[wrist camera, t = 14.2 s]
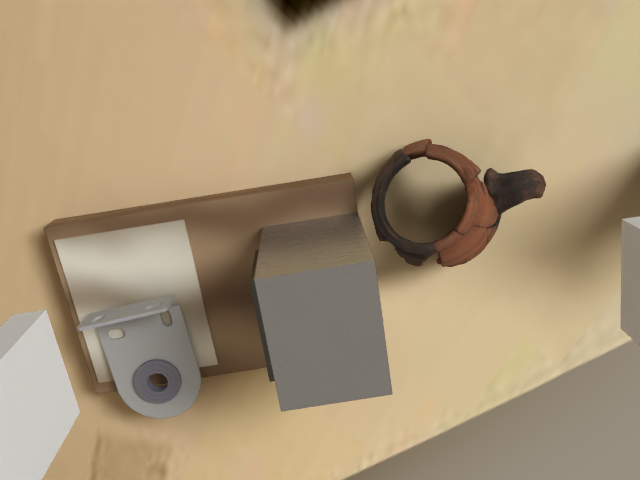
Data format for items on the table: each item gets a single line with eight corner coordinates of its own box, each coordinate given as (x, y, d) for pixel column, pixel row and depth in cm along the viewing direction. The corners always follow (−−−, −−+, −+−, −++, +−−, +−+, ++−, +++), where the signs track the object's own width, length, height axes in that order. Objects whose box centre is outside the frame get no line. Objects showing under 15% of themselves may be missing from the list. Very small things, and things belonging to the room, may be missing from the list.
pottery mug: (412, 281, 49) (384, 288, 41) (375, 173, 50) (341, 159, 42) (563, 231, 45) (563, 228, 37) (519, 114, 46) (510, 88, 38)
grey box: (254, 228, 44) (243, 280, 35) (357, 212, 44) (374, 260, 35) (276, 336, 47) (271, 412, 37) (372, 321, 47) (392, 394, 37)
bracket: (133, 419, 49) (122, 446, 45) (90, 308, 45) (75, 328, 42) (212, 401, 48) (206, 427, 45) (174, 288, 45) (165, 307, 42)
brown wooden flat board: (54, 219, 45) (43, 228, 43) (350, 172, 45) (353, 179, 43) (104, 380, 50) (95, 394, 48) (373, 338, 50) (376, 351, 48)
